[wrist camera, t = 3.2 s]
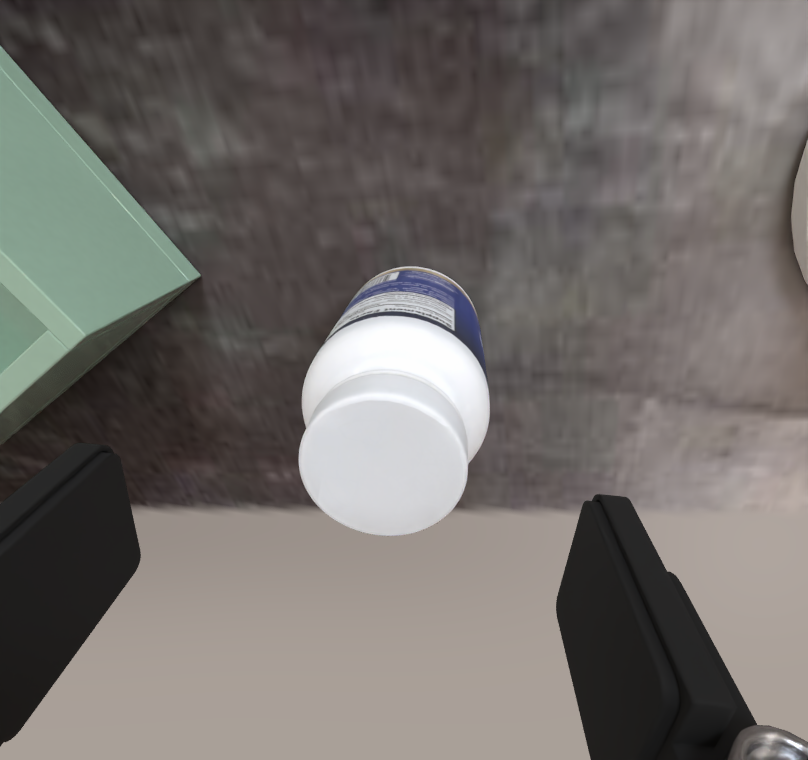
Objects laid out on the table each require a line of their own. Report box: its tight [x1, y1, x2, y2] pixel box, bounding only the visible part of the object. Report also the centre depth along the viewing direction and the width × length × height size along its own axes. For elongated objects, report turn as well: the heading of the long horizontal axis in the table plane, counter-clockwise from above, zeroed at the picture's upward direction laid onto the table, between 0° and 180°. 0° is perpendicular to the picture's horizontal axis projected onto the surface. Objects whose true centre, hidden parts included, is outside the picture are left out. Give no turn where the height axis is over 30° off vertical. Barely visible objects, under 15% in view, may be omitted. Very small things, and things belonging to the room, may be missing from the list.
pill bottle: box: [299, 267, 490, 536], centre depth 16 cm, size 5×5×10 cm
